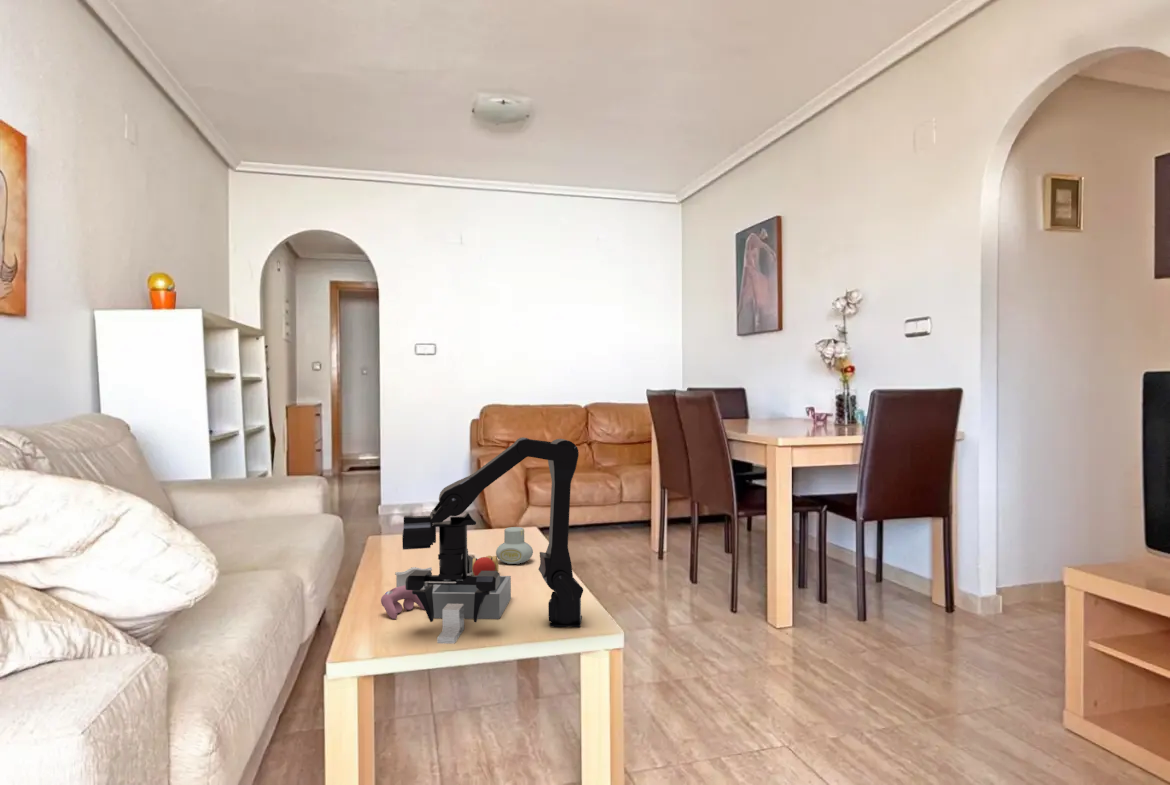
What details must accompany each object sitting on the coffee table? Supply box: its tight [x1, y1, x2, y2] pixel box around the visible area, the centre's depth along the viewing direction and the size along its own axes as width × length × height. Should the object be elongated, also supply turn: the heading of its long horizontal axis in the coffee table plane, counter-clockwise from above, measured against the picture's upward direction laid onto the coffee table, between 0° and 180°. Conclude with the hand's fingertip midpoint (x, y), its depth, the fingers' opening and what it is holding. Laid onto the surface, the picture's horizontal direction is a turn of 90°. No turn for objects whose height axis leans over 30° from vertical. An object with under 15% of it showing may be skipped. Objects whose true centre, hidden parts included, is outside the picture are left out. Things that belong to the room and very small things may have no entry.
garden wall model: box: [394, 566, 436, 588], centre depth 172 cm, size 12×2×6 cm, turn 121°
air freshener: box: [495, 526, 534, 565], centre depth 200 cm, size 11×8×10 cm
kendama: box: [471, 555, 500, 576], centre depth 188 cm, size 8×6×18 cm
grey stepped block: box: [436, 604, 465, 645], centre depth 138 cm, size 4×8×6 cm, turn 177°
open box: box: [432, 575, 512, 620], centre depth 157 cm, size 16×15×6 cm
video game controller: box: [380, 585, 425, 620], centre depth 154 cm, size 10×5×7 cm, turn 141°
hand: (453, 621), depth 140 cm, fingers open, 9 cm apart
